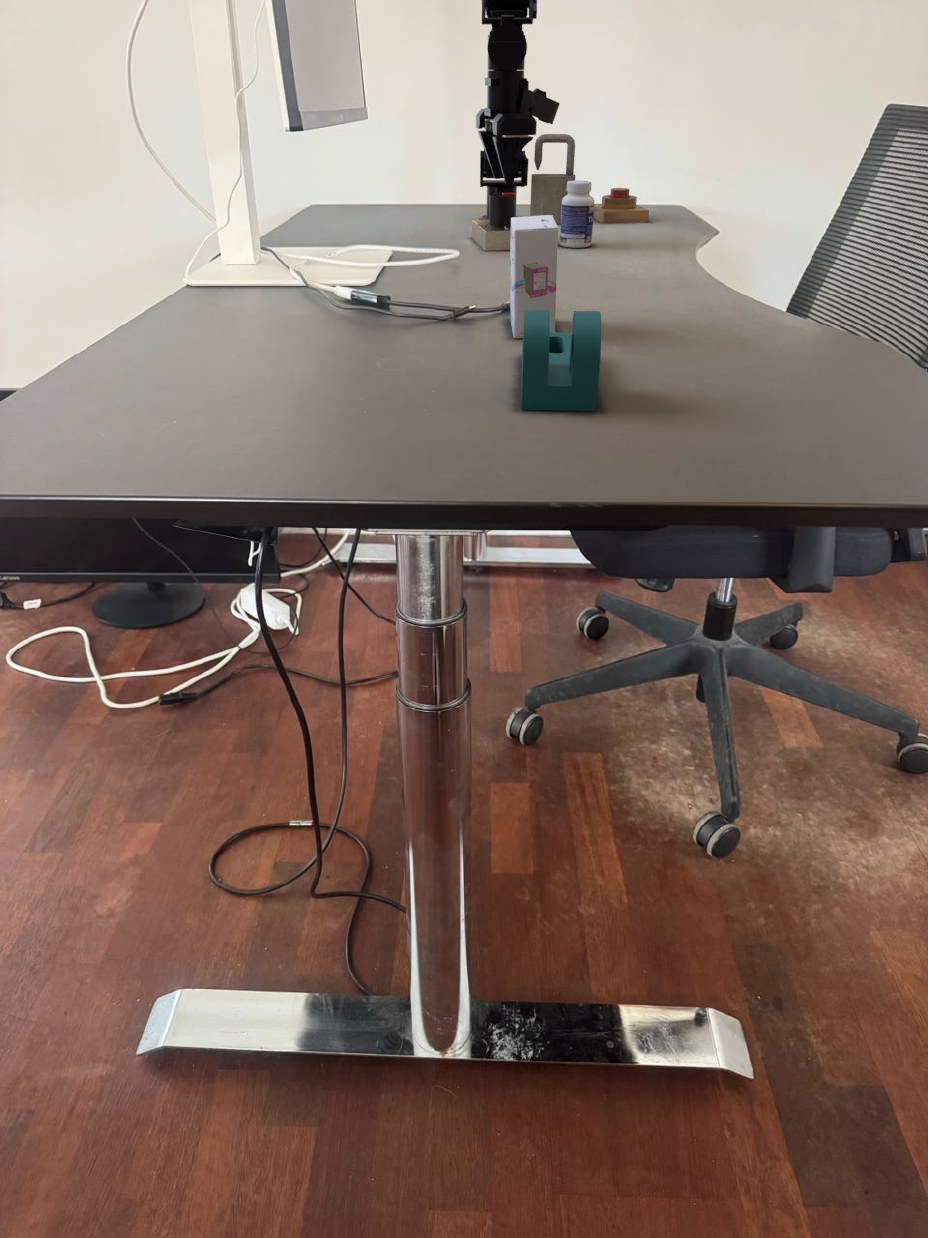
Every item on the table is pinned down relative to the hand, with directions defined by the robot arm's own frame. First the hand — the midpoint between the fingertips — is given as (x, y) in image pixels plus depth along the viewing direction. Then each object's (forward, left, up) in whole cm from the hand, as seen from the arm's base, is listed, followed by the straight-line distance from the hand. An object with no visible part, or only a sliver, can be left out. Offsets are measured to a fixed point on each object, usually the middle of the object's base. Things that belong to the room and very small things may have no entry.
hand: (503, 181), depth 144 cm
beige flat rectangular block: (0, +1, -10) cm, 10 cm away
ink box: (+55, -8, -10) cm, 56 cm away
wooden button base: (-22, +28, -10) cm, 37 cm away
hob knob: (0, 0, -7) cm, 7 cm away
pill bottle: (+4, +12, -10) cm, 16 cm away
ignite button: (-22, +28, -6) cm, 36 cm away
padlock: (-20, +14, -10) cm, 26 cm away
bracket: (+74, -10, -10) cm, 75 cm away
